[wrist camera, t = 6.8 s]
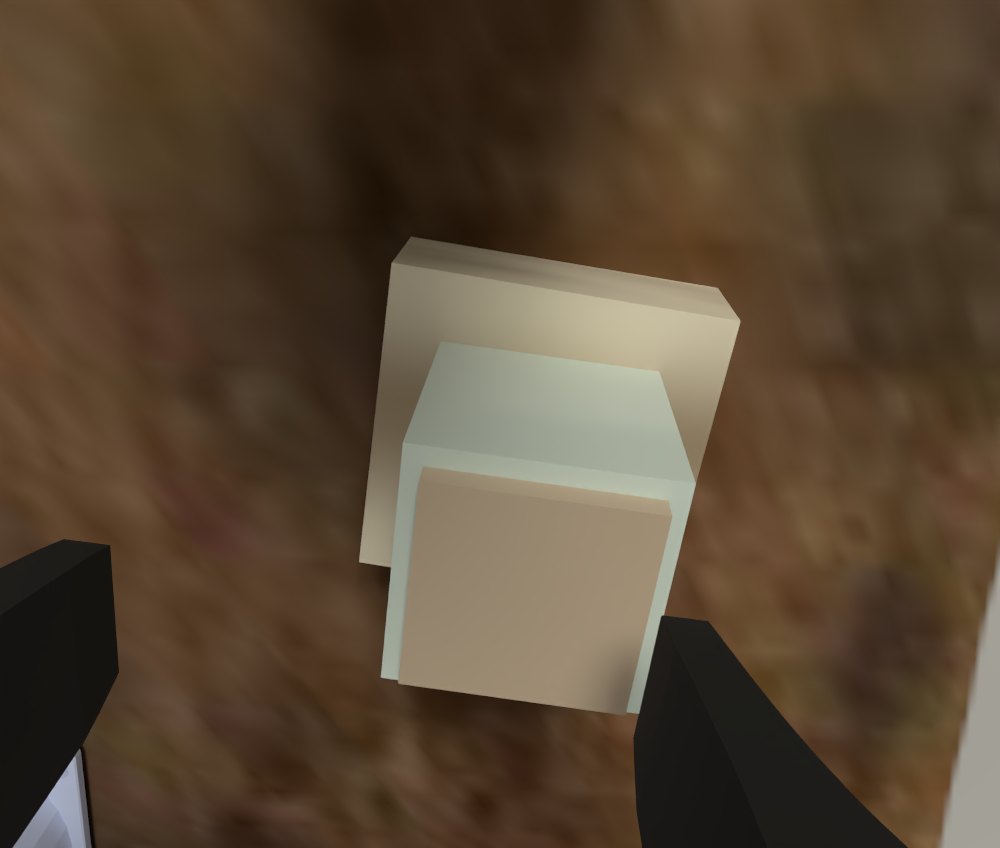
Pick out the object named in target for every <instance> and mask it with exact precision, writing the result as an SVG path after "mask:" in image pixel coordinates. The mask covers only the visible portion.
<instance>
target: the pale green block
mask: <svg viewBox="0 0 1000 848" xmlns="http://www.w3.org/2000/svg"><path fill="white" fill-rule="evenodd" d="M695 485H696V482H695V479H694V476H693V473H692V470H691V467H690V464H689V461H688V458H687V455H686V452H685V449H684V446H683V443H682V439H681V436H680V433H679V430H678V427H677V424H676V421H675V418H674V415H673V412H672V409H671V406H670V403H669V400H668V397H667V394H666V390H665V387H664V384H663V381H662V378H661V375H660V372H658V371H651V370H644V369H637V368H629V367H622V366H615V365H608V364H601V363H594V362H587V361H579V360H572V359H565V358H558V357H551V356H544V355H537V354H530V353H522V352H515V351H508V350H501V349H494V348H487V347H480V346H472V345H465V344H458V343H451V342H444V341H441V342H440V344H439V347H438V350H437V352H436V355H435V358H434V361H433V363H432V366H431V369H430V371H429V374H428V377H427V379H426V382H425V385H424V387H423V390H422V393H421V395H420V398H419V401H418V403H417V406H416V409H415V411H414V414H413V417H412V419H411V422H410V425H409V427H408V430H407V433H406V435H405V438H404V441H403V446H402V457H401V468H400V478H399V489H398V500H397V510H396V521H395V532H394V543H393V553H392V564H391V575H390V585H389V596H388V607H387V618H386V628H385V639H384V650H383V660H382V671H381V678H387V679H394V680H398V684H404V685H411V686H418V687H425V688H433V689H440V690H447V691H454V692H461V693H468V694H476V695H483V696H490V697H497V698H504V699H511V700H519V701H526V702H533V703H540V704H547V705H554V706H562V707H569V708H576V709H583V710H590V711H597V712H605V713H612V714H619V715H626V712H630V713H637V714H639V712H640V707H641V703H642V698H643V694H644V690H645V685H646V681H647V676H648V672H649V667H650V663H651V659H652V654H653V650H654V645H655V641H656V637H657V632H658V628H659V623H660V619H661V615H663V616H664V612H665V608H666V604H667V600H668V595H669V591H670V587H671V583H672V579H673V575H674V571H675V567H676V563H677V559H678V555H679V551H680V546H681V542H682V538H683V534H684V530H685V526H686V522H687V518H688V514H689V510H690V506H691V502H692V497H693V493H694V489H695Z"/></svg>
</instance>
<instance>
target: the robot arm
mask: <svg viewBox="0 0 1000 848" xmlns="http://www.w3.org/2000/svg"><path fill="white" fill-rule="evenodd" d="M118 673H119V668H118V653H117V639H116V624H115V610H114V595H113V581H112V566H111V552H110V545H104V544H96V543H89V542H81V541H73V540H65V539H63V540H61V541H58V542H56V543H53V544H51V545H49V546H46V547H44V548H42V549H39V550H37V551H35V552H33V553H31V554H29V555H27V556H25V557H22V558H20V559H18V560H16V561H14V562H12V563H10V564H8V565H6V566H4V567H2V568H0V848H91V839H90V830H89V821H88V812H87V803H86V794H85V784H84V775H83V766H82V757H81V750H80V747H81V746H82V744H83V743H84V741H85V739H86V737H87V735H88V733H89V732H90V730H91V728H92V726H93V724H94V722H95V720H96V718H97V716H98V714H99V712H100V710H101V708H102V706H103V704H104V702H105V700H106V698H107V696H108V694H109V692H110V690H111V687H112V685H113V683H114V681H115V679H116V677H117V675H118ZM634 764H635V788H636V807H637V817H638V823H639V830H640V836H641V842H642V848H908V847H907V846H906V845H904V844H903V843H902V842H901V841H900V840H899V839H898V838H897V837H896V836H895V835H894V834H893V833H892V832H890V831H889V830H888V829H887V828H886V827H885V826H884V825H883V824H882V823H881V822H880V821H879V820H878V819H877V818H876V817H875V816H874V815H873V814H871V813H870V812H869V811H868V810H867V809H866V808H865V807H864V806H863V805H862V804H861V803H860V802H859V801H858V800H857V799H856V798H855V796H854V795H853V794H852V793H851V792H850V791H849V790H848V789H847V788H846V787H845V786H844V785H843V784H842V783H841V782H840V780H839V779H838V778H837V777H836V776H835V775H834V774H833V773H832V772H831V771H830V770H829V769H828V768H827V767H826V765H825V764H824V763H823V762H822V761H821V760H820V759H819V758H818V757H817V756H816V755H815V753H814V752H813V751H812V750H811V749H810V748H809V747H808V745H807V744H806V743H805V742H804V741H803V740H802V739H801V738H800V736H799V735H798V734H797V733H796V732H795V730H794V729H793V728H792V727H791V726H790V725H789V723H788V722H787V721H786V720H785V719H784V717H783V716H782V715H781V714H780V713H779V711H778V710H777V709H776V708H775V706H774V705H773V704H772V703H771V701H770V700H769V699H768V698H767V696H766V695H765V694H764V693H763V692H762V690H761V689H760V688H759V686H758V685H757V684H756V683H755V681H754V680H753V679H752V677H751V676H750V675H749V674H748V672H747V671H746V670H745V668H744V667H743V666H742V665H741V663H740V662H739V661H738V659H737V658H736V657H735V655H734V654H733V653H732V651H731V650H730V649H729V648H728V646H727V645H726V644H725V642H724V641H723V640H722V638H721V637H720V636H719V634H718V633H717V632H716V631H715V629H714V628H713V627H712V625H711V624H710V623H709V622H708V621H702V620H694V619H686V618H678V617H671V616H663V615H661V619H660V623H659V628H658V632H657V637H656V641H655V645H654V650H653V654H652V659H651V663H650V667H649V672H648V676H647V681H646V685H645V690H644V694H643V698H642V703H641V707H640V712H639V716H638V720H637V725H636V729H635V734H634Z"/></svg>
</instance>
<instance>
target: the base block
mask: <svg viewBox="0 0 1000 848" xmlns="http://www.w3.org/2000/svg"><path fill="white" fill-rule="evenodd" d="M739 325H740V320H739V318H738V317H737V315H736V314H735V312H734V311H733V310H732V308H731V307H730V305H729V304H728V302H727V301H726V299H725V298H724V296H723V295H722V294H721V292H720V291H719V289H718V288H714V287H708V286H702V285H696V284H690V283H684V282H679V281H673V280H667V279H661V278H655V277H649V276H643V275H637V274H631V273H625V272H619V271H613V270H607V269H601V268H595V267H589V266H583V265H577V264H571V263H565V262H559V261H554V260H548V259H542V258H536V257H530V256H524V255H518V254H512V253H506V252H500V251H494V250H488V249H482V248H476V247H470V246H464V245H458V244H452V243H446V242H440V241H434V240H428V239H423V238H417V237H410V239H409V240H408V241H407V243H406V244H405V245H404V247H403V248H402V249H401V251H400V252H399V254H398V255H397V256H396V258H395V259H394V260H393V262H392V264H391V274H390V283H389V292H388V301H387V310H386V319H385V328H384V338H383V347H382V356H381V365H380V374H379V383H378V393H377V402H376V411H375V420H374V429H373V438H372V448H371V457H370V466H369V475H368V484H367V493H366V502H365V512H364V521H363V530H362V539H361V548H360V557H359V562H361V563H367V564H373V565H379V566H386V567H391V564H392V553H393V543H394V532H395V521H396V510H397V500H398V489H399V478H400V468H401V457H402V446H403V441H404V438H405V435H406V433H407V430H408V427H409V425H410V422H411V419H412V417H413V414H414V411H415V409H416V406H417V403H418V401H419V398H420V395H421V393H422V390H423V387H424V385H425V382H426V379H427V377H428V374H429V371H430V369H431V366H432V363H433V361H434V358H435V355H436V352H437V350H438V347H439V344H440V342H441V341H444V342H451V343H458V344H465V345H472V346H480V347H487V348H494V349H501V350H508V351H515V352H522V353H530V354H537V355H544V356H551V357H558V358H565V359H572V360H579V361H587V362H594V363H601V364H608V365H615V366H622V367H629V368H637V369H644V370H651V371H658V372H660V375H661V378H662V381H663V384H664V387H665V390H666V394H667V397H668V400H669V403H670V406H671V409H672V412H673V415H674V418H675V421H676V424H677V427H678V430H679V433H680V436H681V439H682V443H683V446H684V449H685V452H686V455H687V458H688V461H689V464H690V467H691V470H692V473H693V476H694V479H695V482H696V481H697V477H698V474H699V470H700V467H701V463H702V459H703V456H704V452H705V448H706V445H707V441H708V437H709V434H710V430H711V427H712V423H713V419H714V416H715V412H716V408H717V405H718V401H719V398H720V394H721V390H722V387H723V383H724V379H725V376H726V372H727V368H728V365H729V361H730V358H731V354H732V350H733V347H734V343H735V339H736V336H737V332H738V329H739Z"/></svg>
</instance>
